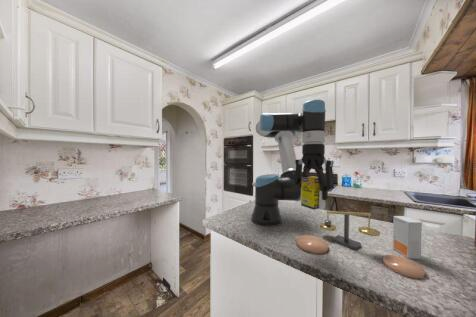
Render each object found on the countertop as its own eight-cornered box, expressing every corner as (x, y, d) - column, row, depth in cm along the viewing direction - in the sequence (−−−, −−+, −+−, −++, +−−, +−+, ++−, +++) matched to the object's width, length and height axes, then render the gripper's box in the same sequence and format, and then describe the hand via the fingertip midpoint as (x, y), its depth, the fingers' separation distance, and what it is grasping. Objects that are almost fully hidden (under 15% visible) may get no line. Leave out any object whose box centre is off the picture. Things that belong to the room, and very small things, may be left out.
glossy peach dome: (378, 265, 52) (378, 261, 52) (387, 255, 58) (387, 251, 58) (422, 283, 45) (422, 278, 45) (427, 269, 50) (427, 265, 50)
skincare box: (392, 248, 62) (392, 215, 61) (404, 248, 62) (404, 215, 61) (408, 258, 56) (409, 222, 55) (421, 259, 56) (422, 222, 55)
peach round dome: (290, 243, 65) (290, 240, 65) (306, 235, 72) (306, 232, 71) (318, 257, 56) (318, 254, 56) (334, 247, 63) (334, 243, 63)
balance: (316, 235, 72) (317, 203, 71) (324, 231, 75) (324, 201, 75) (376, 259, 55) (377, 217, 55) (382, 252, 59) (382, 213, 59)
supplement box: (314, 210, 60) (314, 178, 59) (300, 205, 65) (300, 176, 65) (325, 207, 62) (325, 177, 62) (311, 203, 68) (312, 175, 67)
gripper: (285, 144, 69) (284, 201, 69) (336, 141, 53) (335, 215, 54) (296, 145, 73) (295, 199, 74) (347, 142, 57) (345, 211, 58)
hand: (312, 206), depth 64 cm, fingers closed on supplement box, 7 cm apart
